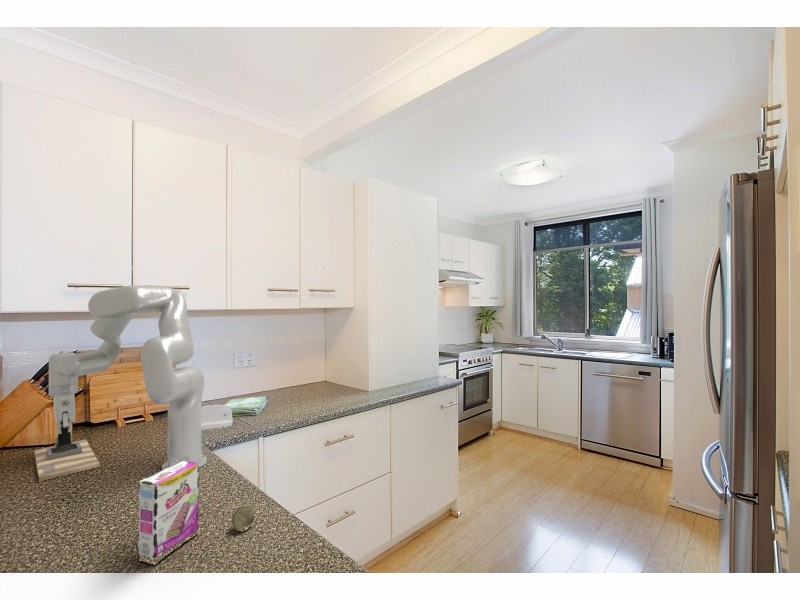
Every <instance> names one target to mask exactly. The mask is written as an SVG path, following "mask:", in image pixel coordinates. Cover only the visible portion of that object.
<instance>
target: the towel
mask: <svg viewBox="0 0 800 600" xmlns="http://www.w3.org/2000/svg"><path fill="white" fill-rule="evenodd" d="M267 403H268V397H267V396H266V395H262V396H253V397H252V396H251V397H244V398H243V397H242V398H233V399H229V400H228V401H227V402H226V403H225V404H224V405H225V406H229V407H231V411H232V417H240V416H241V417H242V416H243V415H244V416H251V415H254V416H257V415H256V414H259V413H260V412H261V413H262V411H263V410H264V409H265V407H266V405H267ZM263 408H264V409H263ZM262 409H263V410H262ZM261 413H260V414H261ZM260 414H259V415H260ZM244 416H243V417H244Z"/></svg>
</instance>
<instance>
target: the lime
mask: <svg viewBox="0 0 800 600" xmlns="http://www.w3.org/2000/svg"><path fill="white" fill-rule="evenodd" d="M254 521H255V514H254V511H253V509H252V508H250V507H249V506H245V505H244V506H241V507H239V508H237V510H235V511H234V512H233V514H232V517H231V524H232V526H233V528H234V530H236V531H237V532H239V531H240V530H242V529H244V528H245V527H247V526H249V525H251V524H252V525H253V524H254ZM252 525H251V526H252Z"/></svg>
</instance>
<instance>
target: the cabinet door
mask: <svg viewBox="0 0 800 600" xmlns="http://www.w3.org/2000/svg"><path fill="white" fill-rule="evenodd" d="M33 453H35V454H34V460H35V459H36V460H35V465H37V466H36V472H37V478H38V477H39V478H38V482H39V481H42V480H46V479H51V478H55V477H59V478H61V477H60V476H63V477H65V476H64V475H67V476H69V475H68V474H71V475H73V474H72V473H75V474H77V473H76V472H79V473H82V472H81V471H83V472H86V471H85V470H87V471H90V470H89V469H91V470H93V469H92V468H95V469H97V468H96V467H99V468H100V462H99V460H98V458H97V456H96V454H95V453H94V451H93V449H92V447H91V446H90V444H89V442H88V440H87V439H83V440H77V441H72V444H71V445H68V446H64V447H55V445H53V446H49V447H43V448H38V449H37V448H36V449H34V452H33ZM55 479H56V478H55ZM51 480H52V479H51Z"/></svg>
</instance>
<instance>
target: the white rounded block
mask: <svg viewBox="0 0 800 600" xmlns="http://www.w3.org/2000/svg"><path fill="white" fill-rule="evenodd" d="M233 424H234V419H233V416H232V411H231V407H229V406H225V404H208V405H203V406H201V431H203V430H204V431H205V430H213V429H214V428H215V429H223V428H222V427H224V428H229V427H228V426H232V427H233ZM215 429H214V430H215Z"/></svg>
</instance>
